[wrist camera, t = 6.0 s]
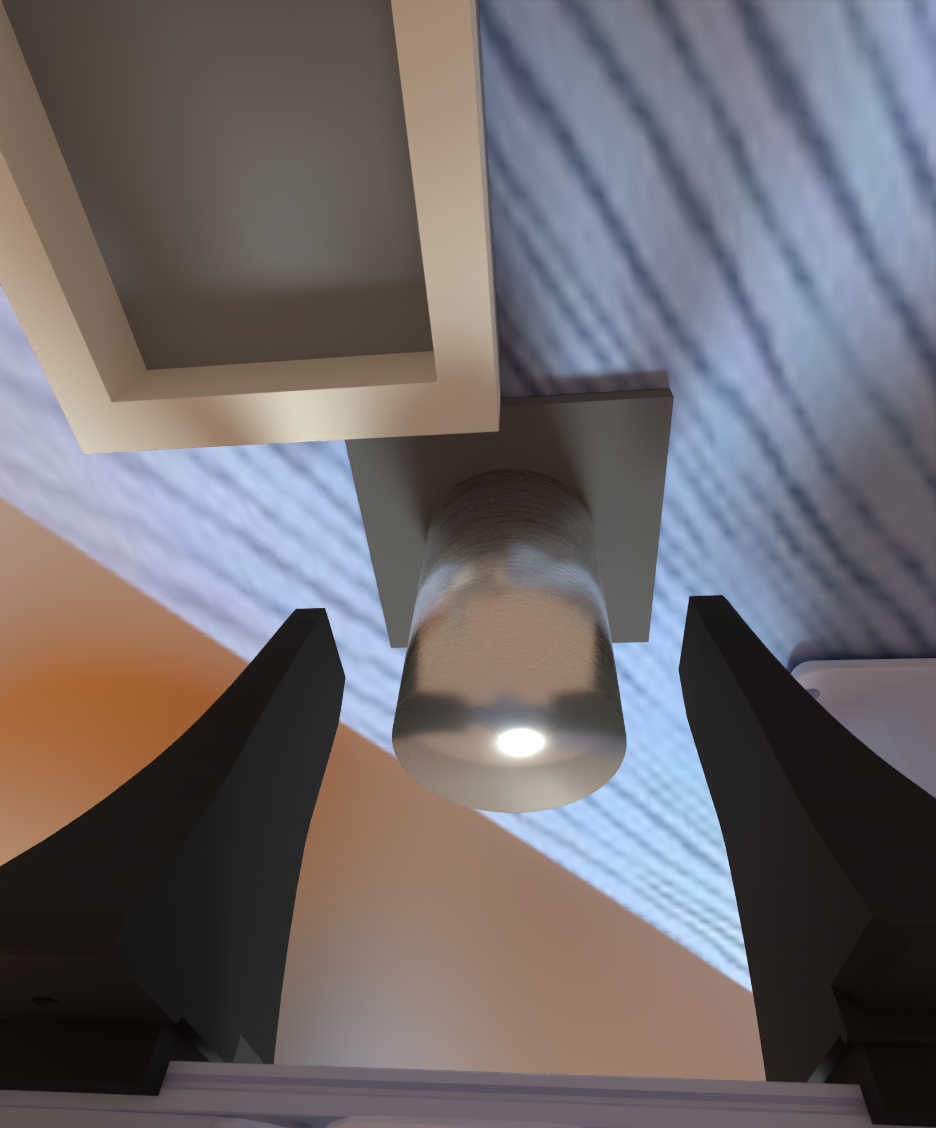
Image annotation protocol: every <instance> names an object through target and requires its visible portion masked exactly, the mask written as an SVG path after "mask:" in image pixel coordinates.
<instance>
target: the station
mask: <svg viewBox="0 0 936 1128" xmlns="http://www.w3.org/2000/svg"><path fill="white" fill-rule="evenodd" d="M0 284H1V286H2V288H3V290H4V292H5V294H6V296H7V298H8V300H9V302H10V304H11V306H12V308H13V310H14V312H15V314H16V316H17V318H18V320H19V322H20V324H21V326H22V328H23V331H24V333H25V335H26V337H27V339H28V341H29V343H30V345H31V347H32V349H33V351H34V353H35V355H36V357H37V359H38V361H39V363H40V365H41V367H42V369H43V371H44V373H45V375H46V377H47V379H48V381H49V383H50V386H51V388H52V390H53V392H54V394H55V396H56V398H57V400H58V402H59V404H60V406H61V408H62V410H63V412H64V414H65V416H66V418H67V420H68V422H69V424H70V426H71V428H72V430H73V432H74V434H75V436H76V438H77V441H78V443H79V445H80V447H81V449H82V451H83V453H84V454H89V453H107V452H126V451H144V450H163V449H181V448H199V447H218V446H236V445H255V444H273V443H292V442H310V441H329V440H347V439H366V438H384V437H403V436H421V435H440V434H458V433H476V432H495V431H499V416H500V395H501V361H500V345H499V329H498V313H497V296H496V280H495V264H494V248H493V231H492V215H491V199H490V183H489V166H488V150H487V134H486V117H485V101H484V85H483V69H482V52H481V36H480V20H479V4H478V0H0Z"/></svg>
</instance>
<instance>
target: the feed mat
mask: <svg viewBox="0 0 936 1128" xmlns="http://www.w3.org/2000/svg"><path fill="white" fill-rule="evenodd" d="M672 406H673V394H672V392H671V390H670V389H655V390H638V391H621V392H604V393H587V394H570V395H553V396H536V397H519V398H502V399H500V416H499V431H495V432H476V433H458V434H440V435H421V436H403V437H384V438H366V439H347V440H345V442H346V447H347V451H348V456H349V460H350V465H351V469H352V474H353V478H354V483H355V487H356V492H357V496H358V501H359V505H360V510H361V514H362V519H363V523H364V528H365V532H366V537H367V541H368V546H369V550H370V555H371V559H372V564H373V568H374V573H375V577H376V582H377V586H378V591H379V595H380V600H381V604H382V609H383V613H384V618H385V622H386V627H387V631H388V636H389V640H390V645H391V648H400V647H407V646H408V641H409V635H410V630H411V624H412V619H413V613H414V607H415V602H416V596H417V591H418V585H419V580H420V574H421V569H422V563H423V557H424V552H425V546H426V541H427V535H428V530H429V525H430V521H431V518H432V515H433V513H434V511H435V509H436V507H437V506H438V504H439V502H440V501H441V500H442V499H443V497H444V496H445V495H446V494H447V493H448V492H449V491H450V490H452V489H453V488H454V487H455V486H457V485H458V484H460V483H461V482H463V481H465V480H467V479H469V478H471V477H473V476H476V475H478V474H481V473H485V472H489V471H493V470H501V469H521V470H530V471H534V472H538V473H542V474H544V475H547V476H550V477H552V478H554V479H556V480H558V481H560V482H562V483H563V484H564V485H566V486H567V487H569V488H570V489H571V490H572V491H573V492H575V493H576V494H577V495H578V496H579V498H580V499H581V500H582V501H583V503H584V504H585V506H586V507H587V509H588V511H589V513H590V515H591V518H592V521H593V525H594V530H595V537H596V543H597V550H598V556H599V563H600V569H601V576H602V582H603V589H604V595H605V602H606V608H607V615H608V621H609V628H610V634H611V641H612V643H623V642H648V640H649V630H650V620H651V611H652V601H653V591H654V582H655V572H656V562H657V552H658V543H659V533H660V523H661V513H662V504H663V494H664V484H665V475H666V465H667V455H668V445H669V436H670V426H671V416H672Z"/></svg>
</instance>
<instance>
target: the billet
mask: <svg viewBox="0 0 936 1128" xmlns="http://www.w3.org/2000/svg"><path fill="white" fill-rule="evenodd" d="M392 742H393V748H394V751H395V754H396V757H397V759H398V761H399V762H400V764H401V766H402V767H403V768H404V770H405V771H406V772H407V773H408V775H410V776H411V777H412V778H413V779H414V780H415V781H416V782H417V783H418V784H420V785H421V786H422V787H424V788H425V789H427V790H429V791H430V792H432V793H434V794H435V795H437V796H439V797H442V798H444V799H446V800H449V801H451V802H454V803H457V804H459V805H463V806H466V807H470V808H474V809H479V810H485V811H493V812H505V813H523V812H535V811H543V810H548V809H553V808H557V807H561V806H564V805H568V804H570V803H573V802H576V801H578V800H580V799H582V798H584V797H586V796H588V795H590V794H592V793H593V792H595V791H597V790H598V789H600V788H601V787H602V786H603V785H604V784H606V783H607V782H608V781H609V780H610V779H611V778H612V777H613V776H614V774H615V773H616V772H617V770H618V769H619V767H620V766H621V763H622V761H623V759H624V756H625V751H626V732H625V725H624V719H623V712H622V706H621V699H620V693H619V686H618V680H617V673H616V667H615V660H614V654H613V647H612V641H611V634H610V628H609V621H608V615H607V608H606V602H605V595H604V589H603V582H602V576H601V569H600V563H599V556H598V550H597V543H596V537H595V530H594V525H593V521H592V518H591V515H590V513H589V511H588V509H587V507H586V506H585V504H584V503H583V501H582V500H581V499H580V498H579V496H578V495H577V494H576V493H575V492H573V491H572V490H571V489H570V488H569V487H567V486H566V485H564V484H563V483H562V482H560V481H558V480H556V479H554V478H552V477H550V476H547V475H544V474H542V473H538V472H534V471H530V470H521V469H501V470H493V471H489V472H485V473H481V474H478V475H476V476H473V477H471V478H469V479H467V480H465V481H463V482H461V483H460V484H458V485H457V486H455V487H454V488H453V489H452V490H450V491H449V492H448V493H447V494H446V495H445V496H444V497H443V499H442V500H441V501H440V502H439V504H438V506H437V507H436V509H435V511H434V513H433V515H432V518H431V521H430V525H429V530H428V535H427V541H426V546H425V552H424V557H423V563H422V569H421V574H420V580H419V585H418V591H417V596H416V602H415V607H414V613H413V619H412V624H411V630H410V635H409V641H408V646H407V652H406V657H405V663H404V669H403V674H402V680H401V685H400V691H399V696H398V702H397V707H396V713H395V719H394V724H393V730H392Z"/></svg>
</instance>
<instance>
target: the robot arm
mask: <svg viewBox="0 0 936 1128" xmlns="http://www.w3.org/2000/svg"><path fill="white" fill-rule="evenodd" d="M679 675H680V681H681V687H682V693H683V698H684V704H685V709H686V714H687V719H688V722H689V726H690V729H691V732H692V736H693V739H694V742H695V745H696V749H697V752H698V755H699V758H700V762H701V765H702V768H703V771H704V775H705V778H706V781H707V784H708V787H709V791H710V794H711V797H712V800H713V803H714V807H715V810H716V813H717V816H718V820H719V823H720V827H721V831H722V834H723V838H724V842H725V846H726V851H727V856H728V861H729V866H730V871H731V876H732V881H733V886H734V891H735V896H736V901H737V906H738V912H739V917H740V922H741V928H742V933H743V938H744V944H745V949H746V955H747V961H748V967H749V973H750V979H751V985H752V990H753V996H754V1002H755V1008H756V1015H757V1021H758V1028H759V1034H760V1040H761V1048H762V1054H763V1061H764V1067H765V1074H766V1081H739V1080H738V1081H737V1080H711V1079H682V1078H653V1077H624V1076H623V1077H622V1076H595V1075H594V1076H593V1075H565V1074H537V1073H536V1074H534V1073H508V1072H479V1071H450V1070H420V1069H392V1068H364V1067H361V1068H360V1067H335V1066H333V1067H332V1066H305V1065H304V1066H303V1065H276V1064H274V1054H275V1044H276V1036H277V1035H276V1034H277V1027H278V1018H279V1010H280V1001H281V993H282V985H283V978H284V971H285V963H286V955H287V948H288V942H289V935H290V928H291V922H292V916H293V910H294V904H295V897H296V891H297V885H298V880H299V874H300V869H301V863H302V858H303V852H304V847H305V842H306V838H307V834H308V829H309V825H310V821H311V818H312V814H313V811H314V807H315V804H316V800H317V797H318V794H319V790H320V787H321V783H322V780H323V776H324V773H325V769H326V766H327V762H328V759H329V755H330V752H331V748H332V745H333V741H334V738H335V734H336V730H337V727H338V723H339V717H340V711H341V705H342V698H343V691H344V684H345V674H344V671H343V667H342V664H341V661H340V657H339V654H338V650H337V647H336V644H335V640H334V637H333V633H332V630H331V627H330V623H329V620H328V616H327V613H326V610H325V608H311V609H296V610H295V611H294V612H293V613H292V614H291V615H290V616H289V618H288V619H287V620H286V621H285V622H284V623H283V625H282V626H281V627H280V628H279V629H278V631H277V632H276V633H275V634H274V635H273V637H272V638H271V639H270V640H269V641H268V643H267V644H266V645H265V646H264V647H263V649H262V650H261V651H260V652H259V653H258V655H257V656H256V657H255V658H254V659H253V660H252V662H251V663H250V664H249V665H248V666H247V667H246V668H245V670H244V671H243V672H242V673H241V674H240V675H239V676H238V678H237V679H236V680H235V681H234V682H233V683H232V685H231V686H230V687H229V688H228V689H227V690H226V691H225V692H224V693H223V694H222V695H221V696H220V697H219V698H218V699H217V701H216V702H215V703H214V704H213V705H212V706H211V707H210V708H209V709H208V710H207V711H206V712H205V713H204V714H203V715H202V716H201V717H200V718H199V719H198V720H197V721H196V722H195V723H194V724H193V725H192V726H191V727H190V728H189V729H188V730H187V731H186V732H185V733H184V734H183V735H182V736H181V737H180V738H179V739H177V740H176V741H175V742H174V743H173V744H172V745H171V746H170V747H168V748H167V749H166V750H165V751H164V752H163V753H162V754H160V755H159V756H158V757H157V758H156V759H155V760H153V761H152V762H151V763H150V764H149V765H147V766H146V767H145V768H144V769H142V770H141V771H140V772H138V773H137V774H136V775H135V776H133V777H132V778H131V779H129V780H128V781H127V782H126V783H125V784H123V785H122V786H121V787H119V788H118V789H117V790H115V791H114V792H113V793H112V794H110V795H109V796H108V797H106V798H105V799H104V800H102V801H101V802H99V803H98V804H97V805H95V806H94V807H92V808H91V809H90V810H88V811H87V812H85V813H84V814H82V815H81V816H80V817H78V818H77V819H75V820H74V821H72V822H71V823H69V824H68V825H66V826H65V827H63V828H62V829H60V830H59V831H57V832H56V833H54V834H53V835H51V836H50V837H48V838H46V839H45V840H43V841H42V842H40V843H38V844H37V845H35V846H34V847H32V848H30V849H29V850H27V851H25V852H23V853H22V854H20V855H18V856H17V857H15V858H13V859H12V860H10V861H8V862H7V863H5V864H3V865H2V866H0V1128H936V658H919V659H867V660H815V661H806V662H804V663H801V664H799V665H798V666H797V667H795V668H794V669H793V671H792V673H791V674H790V673H789V671H788V670H787V669H786V668H785V667H784V666H783V665H782V664H781V663H780V662H779V661H778V660H777V659H776V657H775V656H774V655H773V654H772V653H771V652H770V651H769V650H768V648H767V647H766V646H765V645H764V644H763V643H762V641H761V640H760V639H759V638H758V637H757V636H756V634H755V633H754V632H753V631H752V630H751V629H750V627H749V626H748V625H747V624H746V622H745V621H744V620H743V619H742V618H741V616H740V615H739V614H738V613H737V611H736V610H735V609H734V608H733V606H732V605H731V604H730V603H729V601H728V600H727V599H726V598H725V597H724V596H723V595H715V596H690V597H689V603H688V610H687V617H686V624H685V630H684V637H683V644H682V651H681V658H680V664H679ZM807 689H809V690H807Z"/></svg>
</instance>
